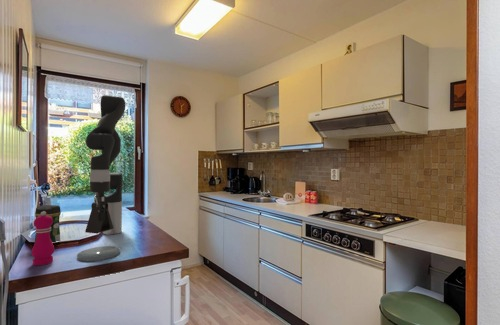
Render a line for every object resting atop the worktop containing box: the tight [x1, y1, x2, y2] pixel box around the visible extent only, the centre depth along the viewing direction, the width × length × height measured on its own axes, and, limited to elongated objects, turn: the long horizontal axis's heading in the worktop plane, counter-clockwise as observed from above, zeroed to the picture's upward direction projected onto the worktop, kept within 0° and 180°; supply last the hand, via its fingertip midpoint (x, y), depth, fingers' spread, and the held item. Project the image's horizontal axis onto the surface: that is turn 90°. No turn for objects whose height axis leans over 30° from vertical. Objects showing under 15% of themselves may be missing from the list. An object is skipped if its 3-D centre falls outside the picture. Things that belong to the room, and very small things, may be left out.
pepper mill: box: [30, 211, 55, 266], centre depth 106 cm, size 7×7×20 cm
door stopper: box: [85, 201, 113, 234], centre depth 116 cm, size 9×6×12 cm, turn 164°
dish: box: [76, 245, 121, 263], centre depth 116 cm, size 16×16×1 cm
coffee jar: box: [34, 204, 62, 243], centre depth 130 cm, size 10×8×19 cm
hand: (99, 219), depth 116 cm, fingers closed on door stopper, 6 cm apart
